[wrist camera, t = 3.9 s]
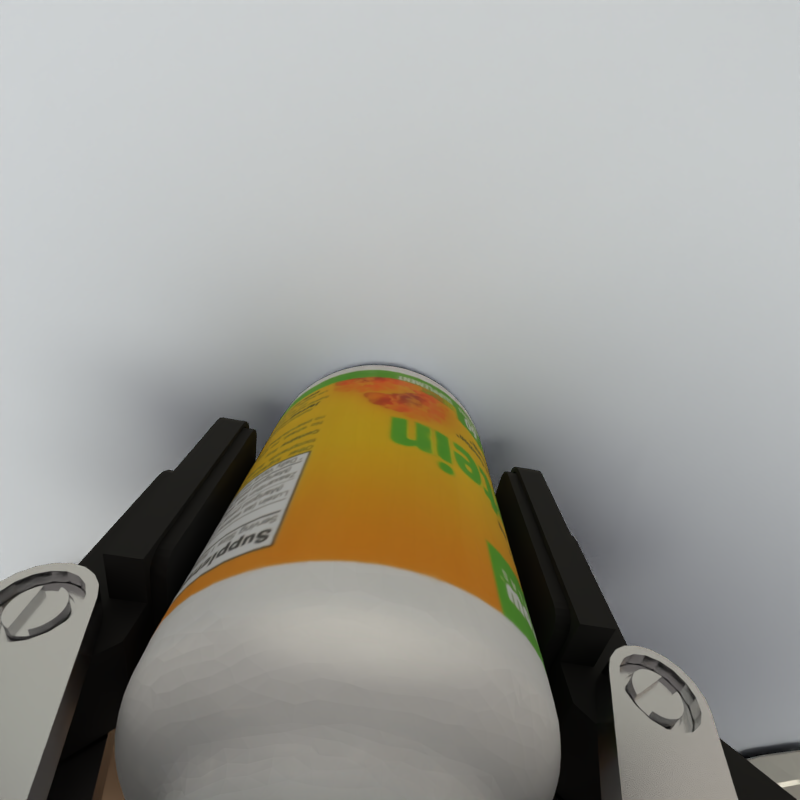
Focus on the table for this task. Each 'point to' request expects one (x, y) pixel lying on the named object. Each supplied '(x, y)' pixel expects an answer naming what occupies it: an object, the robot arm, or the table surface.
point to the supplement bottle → (349, 622)
